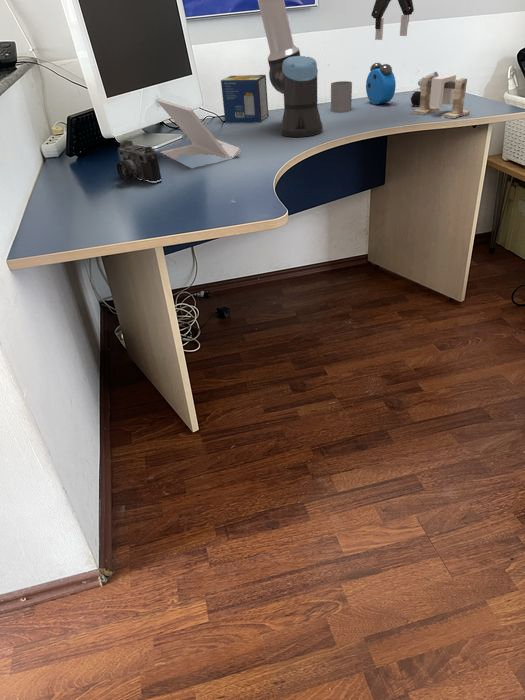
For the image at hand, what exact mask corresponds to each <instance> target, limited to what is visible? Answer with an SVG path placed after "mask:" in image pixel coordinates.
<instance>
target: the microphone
mask: <svg viewBox="0 0 525 700" xmlns="http://www.w3.org/2000/svg"><path fill="white" fill-rule="evenodd" d="M420 96H421V91H416V92H415V93H414V92H413V93H412V95H411V97H410V103H411V104H412V105H413V107H420Z"/></svg>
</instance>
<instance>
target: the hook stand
mask: <svg viewBox="0 0 525 700" xmlns="http://www.w3.org/2000/svg"><path fill="white" fill-rule="evenodd" d="M426 76H427V77H426ZM426 76H424V77H423V76H422V78H421V79H422V85H421V96H420V106H418V108H417V109H415V110H412V111H411V114H412V115H417V114H421V115H420V116H425V115H428V114H427V113H429V114H431V112H432V113H435V112H438V111H440V108H434V107H429V104H430V94H431V84H432V78H433V76H428V75H426ZM467 83H468V78H459V79H456V81H455V82H454V81H449V82H446V83H444V88H449V89H454V97H453V104H452V106H451V107H452V108H451V111H450V112H445V113H443V114H441V118H442V117H449V118H456V117H459V116H462V115H464V116H466V115H465V114H467V115H469V114H470V112H471V110H465V109H464V106H465V97H466V90H467ZM437 110H438V111H437ZM434 111H435V112H434ZM468 113H469V114H468ZM424 114H425V115H424ZM462 117H463V116H462ZM459 118H460V117H459ZM456 119H457V118H456Z"/></svg>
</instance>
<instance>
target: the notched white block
mask: <svg viewBox="0 0 525 700" xmlns="http://www.w3.org/2000/svg"><path fill="white" fill-rule="evenodd" d="M438 76H439V77H435V78H432V84H431V94H430V104H429V107H434V108H439V109H440V108H442V107H443V105H453V98H454V90H455V89H449V88H444V83H446V82H449V81H454V82H456V80H457V75H456V74H444V75H438Z"/></svg>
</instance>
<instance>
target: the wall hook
mask: <svg viewBox="0 0 525 700" xmlns="http://www.w3.org/2000/svg"><path fill="white" fill-rule="evenodd" d="M427 76H433V78H435V77H439V76H440V75H439V73H438V72H437V71H434V72H431V73H430V74H428V75H426V76H425V77H427ZM421 85H422V78H420V79H419V80H418V81H417V86H418V87H419V88H415V89H413V93H415V92H416V91H421Z"/></svg>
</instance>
